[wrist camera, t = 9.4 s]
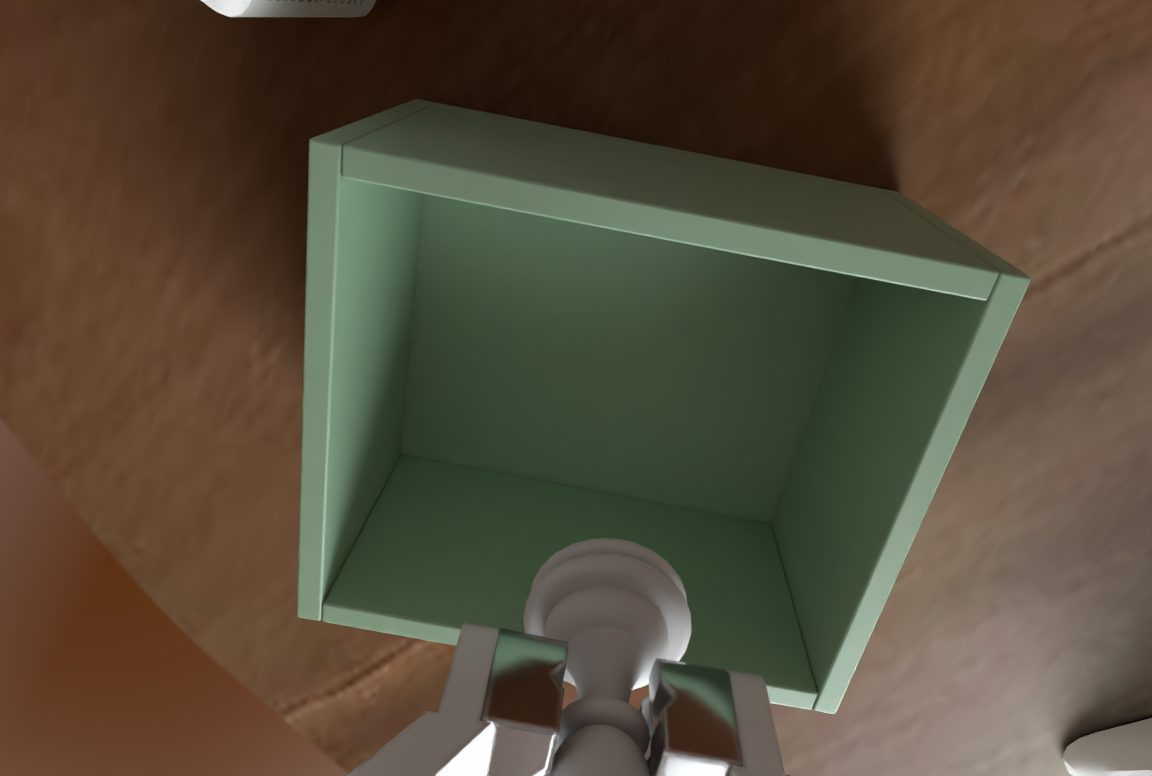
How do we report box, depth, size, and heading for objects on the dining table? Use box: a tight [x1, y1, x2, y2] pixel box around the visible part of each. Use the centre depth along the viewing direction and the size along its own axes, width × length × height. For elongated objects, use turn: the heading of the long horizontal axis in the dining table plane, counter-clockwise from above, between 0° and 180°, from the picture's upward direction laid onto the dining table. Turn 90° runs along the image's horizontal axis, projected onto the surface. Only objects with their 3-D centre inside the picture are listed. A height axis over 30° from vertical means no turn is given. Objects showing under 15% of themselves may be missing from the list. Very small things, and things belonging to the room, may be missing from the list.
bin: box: [297, 99, 1030, 714], centre depth 20 cm, size 13×11×8 cm
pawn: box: [523, 538, 691, 776], centre depth 11 cm, size 3×3×4 cm
